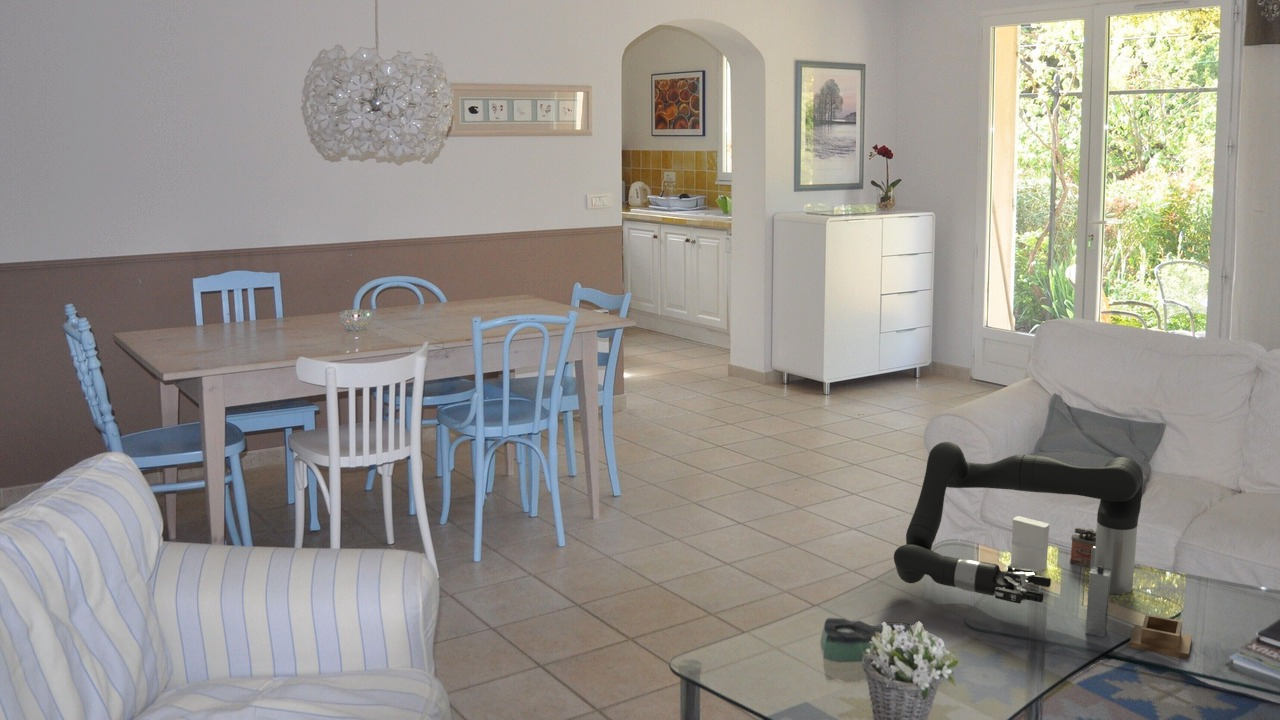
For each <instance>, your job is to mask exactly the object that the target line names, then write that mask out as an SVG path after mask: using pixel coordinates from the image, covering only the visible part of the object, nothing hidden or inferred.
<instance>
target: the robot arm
mask: <svg viewBox="0 0 1280 720" xmlns="http://www.w3.org/2000/svg"><path fill="white" fill-rule="evenodd" d="M1143 486H1144V474H1143V471H1142V468H1141V466H1140V465H1139V463H1137V462H1136V461H1135V460H1133V459H1132V458H1129V457H1125V456H1119V457H1115V458H1112V459H1110V460H1109V461H1108V462H1107V463H1105V465H1104V466H1103V467H1084V466H1075V465H1073V464H1069V463H1065V462H1063V461H1060V460H1057V459H1054V458H1052V457H1048V456H1042V455H1033V454H1015V455H1011V456H1007V457H1005V458H1002V459H1001V460H998V461H995V462H990V463H979V462H978V463H977V462H969V461H967V459H966V458H965V454H964V452H963V451H962V449H961V447H960V446H959V445H958V444H956V443H954V442H952V441H943V442H940V443H938V444H936V445H935V446H933V448H932V449H931V450H930V452H929V453H928V457H927V462H926V467H925V475H924V478H923V482H922V486H921V490H920V493H919V497H918V500H917V504H916V506H915V508H914V512H913V514H912V517H911V520H910V521H909V522H910V523H909V525H908V528H907V531H906V534H905V541H906V543H905V544H903V545H901V546H899V547H897V548H896V549H895V551H894V552H893V562H894V564H895V565H894V566H895V569H896V572H897V574H898V577H899V579H900V580H902V581H903V582H904V583H907V584H916V583H918V582H921V580H922V579H923V578H924V576H925V575H927V576H929V578H931V579H932V580H933V582H935V583H936V584H939V585H942V586H947V587H953V588H957V589H961V590H963V591H968V592H970V593H971V592H972V593H976V594H982V595H987V596H992V597H993V596H994V597H995V598H994V599H997V600H1002V601H1007V602H1010V603H1015V604H1022V602H1023V601H1024V602H1025V601H1026V600H1027V601H1032V602H1037V603H1043V601H1044V598H1045V597H1044V596H1045V595H1044V592H1041V591H1035V590H1031V589H1027V590H1026V589H1025V588H1023V587H1025V586H1027V585H1035V586H1040V587H1046V588H1050V587H1051V585H1052V579H1051V578H1050V577H1048V576H1043V575H1038V574H1037V575H1036V574H1035V573H1034V572H1033V570H1032V569H1027V568H1021V567H1015V566H1013V565H1007V569H1006V571H1002V570H1001V568H1000V566H999V564H996V563H992V562H991V563H990V562H985V561H980V560H975V559H968V558H966V559H965V558H958V557H953V556H946V555H942V554H940V553H938V552H935V551H934V550H932V547H933V544H934V542H935V540H936V537H937V533H938V532H939V529H940V527H941V526H940V525H941V522H942V517H943V511H944V503H945V495H946V491H947V488H948V489H949V488H952V489H973V488H976V489H977V488H978V489H980V488H981V489H982V488H983V489H995V490H996V489H997V490H999V489H1000V490H1001V489H1002V490H1012V491H1019V492H1030V493H1043V494H1044V493H1045V494H1046V493H1047V494H1057V495H1070V496H1071V495H1072V496H1081V497H1087V498H1091V499H1092V498H1093V499H1098V500H1099V505H1098V509H1097V515H1096V516H1097V517H1096V528H1095V529H1096V530H1095V531H1096V543H1095V546H1094V547H1092V551H1091V565H1090V568H1089V569H1090V570H1089V572H1090V571H1091V568H1092V566H1097V567H1098V565H1104V568H1108V569H1111V577H1110V590H1109V595H1110V594H1111V595H1124V594H1123V593H1126V594H1128V592H1129V593H1131V592H1132V591H1133V587H1134V585H1133V584H1134V574H1135V571H1134V570H1135V561H1136V551H1137V550H1136V548H1137V536H1138V535H1137V534H1138V525H1139V516H1140V513H1141V506H1142V496H1143V488H1144V487H1143ZM1130 591H1131V592H1130Z"/></svg>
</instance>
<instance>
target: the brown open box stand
mask: <svg viewBox="0 0 1280 720" xmlns="http://www.w3.org/2000/svg"><path fill="white" fill-rule="evenodd" d="M1182 626H1183V620H1179V619H1174V618H1168V617H1164V616H1158V615H1153V614H1147V613H1146V614H1145V615H1144V619H1143V623H1142V625H1140V624H1139V625H1138V624H1134V626H1133V629H1132V633H1131V636H1130V639H1129V643H1128V644H1129V645H1128V647H1129V648H1132V649H1137V650H1143V651H1147V652H1153V653H1158V654H1162V655H1167V656H1172V657H1176V658H1183V659H1187V660H1188V659H1189V657H1190V656H1189V655H1190V652H1191V645H1192V640H1193V635H1191V634H1185V633H1182V631H1183V630H1182V629H1183V627H1182Z"/></svg>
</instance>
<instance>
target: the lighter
mask: <svg viewBox="0 0 1280 720" xmlns="http://www.w3.org/2000/svg"><path fill="white" fill-rule="evenodd" d="M1070 537H1071V539H1070V540H1071V550H1070V552H1071V554H1070V558H1069V563H1070V564H1071V565H1073V566H1077V567H1081V568H1084V569H1085V568H1087V569H1090V565H1091V551H1092V547H1094V546H1095V543H1096V530H1094V529H1092V528H1088V529H1085V528H1081V527H1078V526H1077V527H1075V528H1074V534H1071V536H1070Z"/></svg>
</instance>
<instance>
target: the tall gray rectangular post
mask: <svg viewBox="0 0 1280 720" xmlns="http://www.w3.org/2000/svg"><path fill="white" fill-rule="evenodd" d="M1110 577H1111V569H1108V568H1104V565H1098V567H1097V566H1092V568H1091V571H1090V570H1089V576H1088V578H1089V579H1088V592H1087V593H1088V594H1087V603H1086V604H1087V606H1086V617H1085V618H1086V620H1085V634H1086V633H1087V634H1086V635H1089V634H1091V635H1090V636H1094V635H1095V637H1100V638H1105V635H1106V633H1107V629H1108V628H1107V627H1108V617H1109V616H1108V613H1109V602H1110V601H1109V600H1110V593H1109V590H1110Z"/></svg>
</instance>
